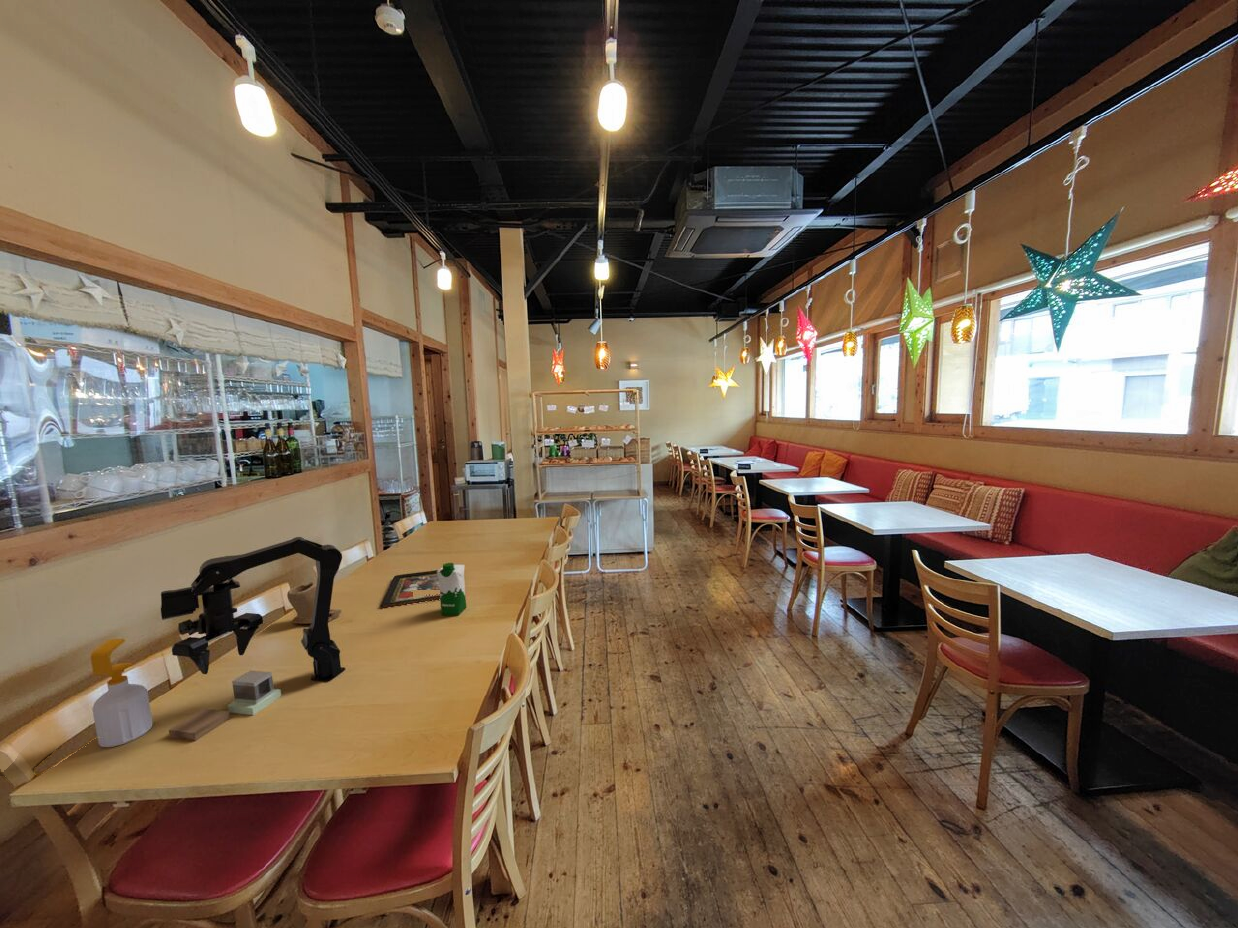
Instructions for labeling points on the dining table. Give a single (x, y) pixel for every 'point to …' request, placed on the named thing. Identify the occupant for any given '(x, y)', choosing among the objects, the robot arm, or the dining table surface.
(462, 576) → the milk carton
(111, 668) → the soap bottle
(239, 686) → the housing
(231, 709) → the stand green
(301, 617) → the stone cup
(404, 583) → the religious icon
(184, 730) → the stand walnut
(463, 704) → the dining table surface
